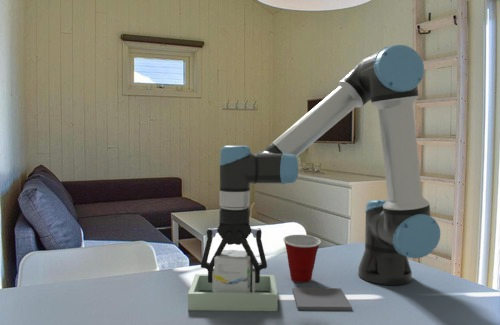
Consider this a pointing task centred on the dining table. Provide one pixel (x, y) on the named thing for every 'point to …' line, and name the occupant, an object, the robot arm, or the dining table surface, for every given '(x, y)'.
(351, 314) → the dining table surface
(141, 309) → the dining table surface
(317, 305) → the pad
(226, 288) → the ink box
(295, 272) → the plastic cup
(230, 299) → the bin
